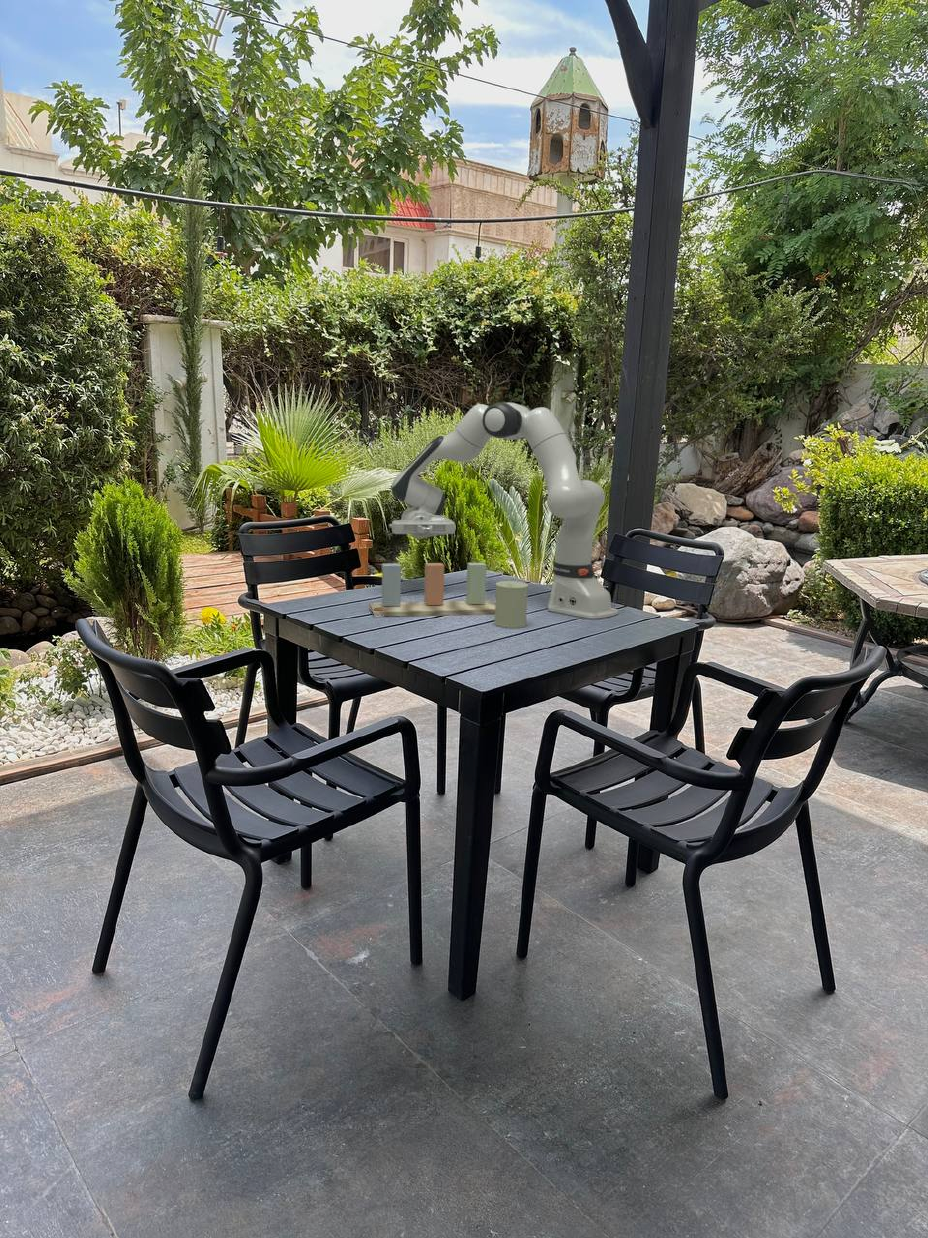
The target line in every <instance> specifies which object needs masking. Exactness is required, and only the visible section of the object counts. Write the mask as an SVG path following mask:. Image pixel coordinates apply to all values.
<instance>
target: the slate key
mask: <svg viewBox="0 0 928 1238" xmlns="http://www.w3.org/2000/svg"><path fill="white" fill-rule="evenodd" d="M401 580H402V566H401V564H400V563H397V562H396V563H394V562H391V563H381V603H382V604H383V606H400V602H402V601H401V593H402V592H401V582H402V581H401Z"/></svg>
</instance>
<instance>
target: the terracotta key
mask: <svg viewBox="0 0 928 1238" xmlns="http://www.w3.org/2000/svg"><path fill="white" fill-rule="evenodd" d="M444 587H445V565H444V564H443V563H442V562H426V563H424V601H423V602H425V604H426V605H443V601H444V591H445V590H444Z"/></svg>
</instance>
